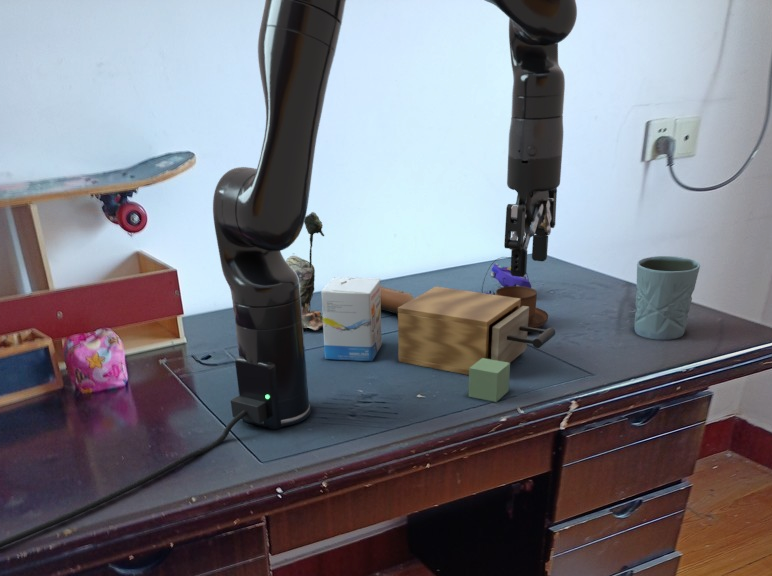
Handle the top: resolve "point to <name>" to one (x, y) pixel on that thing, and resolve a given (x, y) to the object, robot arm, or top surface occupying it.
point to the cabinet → (449, 327)
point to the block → (489, 379)
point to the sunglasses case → (393, 299)
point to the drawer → (514, 335)
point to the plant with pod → (307, 276)
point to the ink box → (352, 318)
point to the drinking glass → (664, 296)
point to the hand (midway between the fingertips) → (528, 267)
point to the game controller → (507, 277)
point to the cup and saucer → (526, 303)
